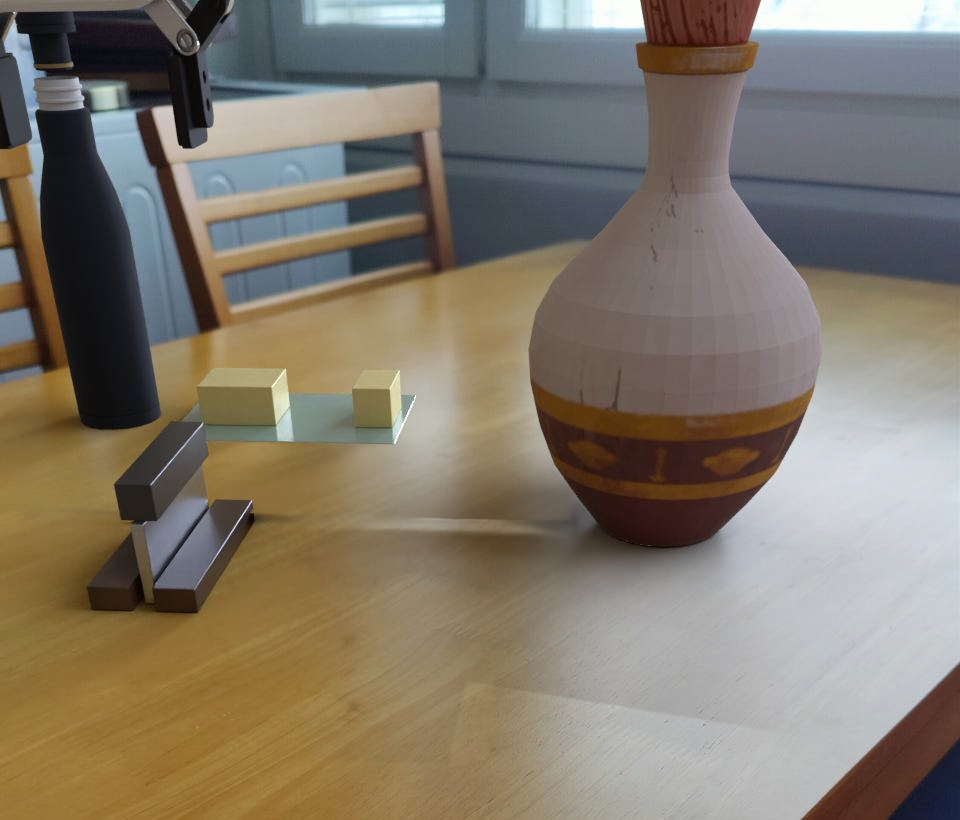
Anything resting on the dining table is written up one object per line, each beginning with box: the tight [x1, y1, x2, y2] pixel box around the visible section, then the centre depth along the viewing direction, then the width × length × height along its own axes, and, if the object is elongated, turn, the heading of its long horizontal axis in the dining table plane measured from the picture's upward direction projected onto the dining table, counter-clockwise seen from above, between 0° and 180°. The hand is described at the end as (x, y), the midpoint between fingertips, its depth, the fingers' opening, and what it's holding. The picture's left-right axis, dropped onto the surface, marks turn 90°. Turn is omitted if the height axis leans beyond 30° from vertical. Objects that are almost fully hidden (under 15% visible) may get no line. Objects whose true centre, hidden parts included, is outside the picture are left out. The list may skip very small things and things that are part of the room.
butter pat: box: [351, 369, 402, 428], centre depth 96 cm, size 3×5×3 cm, turn 175°
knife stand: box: [86, 498, 256, 613], centre depth 77 cm, size 7×14×2 cm, turn 174°
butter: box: [196, 367, 290, 426], centre depth 97 cm, size 6×5×3 cm
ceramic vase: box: [527, 0, 822, 547], centre depth 73 cm, size 20×18×30 cm
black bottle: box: [14, 11, 162, 431], centre depth 89 cm, size 6×6×30 cm
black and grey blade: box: [113, 420, 210, 605], centre depth 75 cm, size 12×2×7 cm, turn 174°
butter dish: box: [180, 392, 417, 445], centre depth 98 cm, size 18×12×1 cm, turn 84°
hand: (104, 145), depth 63 cm, fingers open, 9 cm apart
